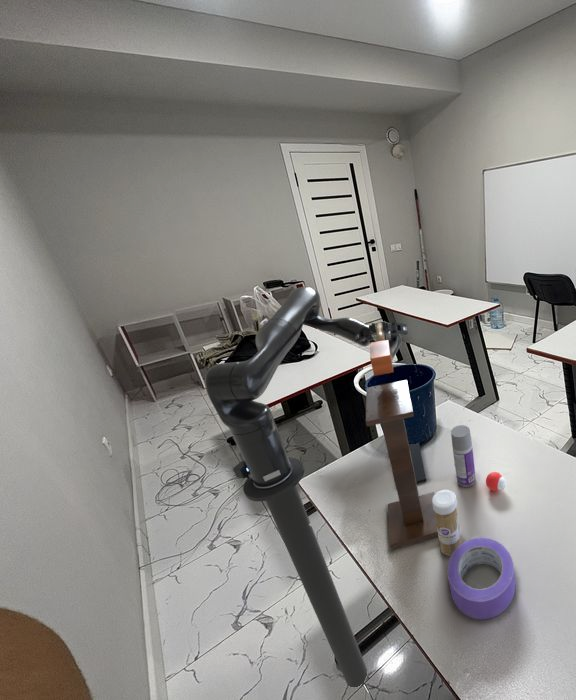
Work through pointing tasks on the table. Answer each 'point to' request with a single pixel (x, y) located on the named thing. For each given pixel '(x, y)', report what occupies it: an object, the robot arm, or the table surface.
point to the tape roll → (487, 599)
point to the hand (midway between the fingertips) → (378, 326)
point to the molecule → (495, 481)
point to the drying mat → (417, 462)
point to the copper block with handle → (380, 353)
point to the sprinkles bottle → (447, 521)
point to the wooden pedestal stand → (401, 466)
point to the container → (463, 455)
